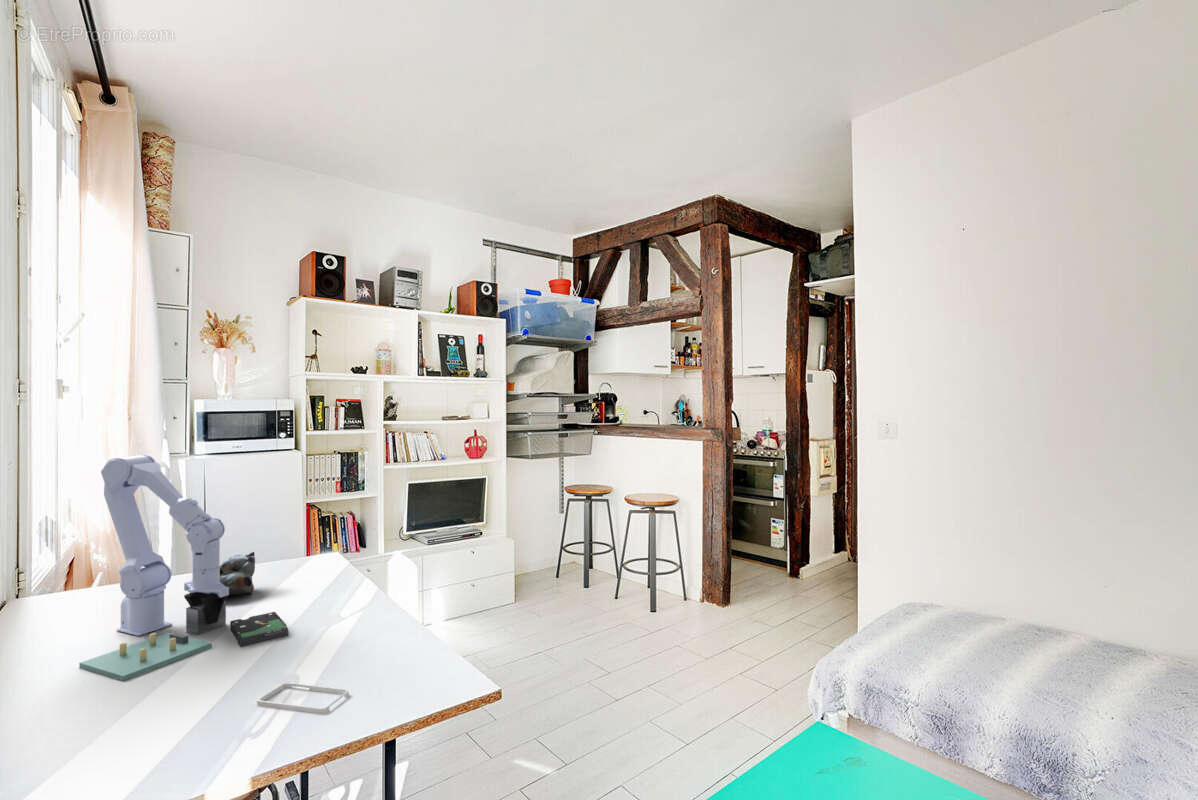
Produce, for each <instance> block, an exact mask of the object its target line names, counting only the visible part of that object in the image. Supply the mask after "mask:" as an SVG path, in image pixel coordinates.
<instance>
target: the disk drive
mask: <svg viewBox="0 0 1198 800" xmlns="http://www.w3.org/2000/svg"><path fill="white" fill-rule="evenodd" d="M229 625H230V626H229V630H230V632H231V633H232V635H233V638H235V640H236V642H237V644H238V646H239V647H240V648H243V647H247V646H251V645H252V646H253V645H256V644H260V643H261V644H262V643H265V642H269V641H273V640H278V639H282V638H286V637H289V628H288V627H287V626H288V625H287V624H286V623H285V622H284V620H283V619H282V618H281V617H280V616H279V615H278V613H277V612H276V611H272V612H271V611H270V612H267V613H262V614H258V615H252V616H249V617H248V618H245V619H241V618H238V619H234V620H230V622H229Z"/></svg>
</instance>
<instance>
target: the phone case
mask: <svg viewBox="0 0 1198 800" xmlns="http://www.w3.org/2000/svg"><path fill="white" fill-rule="evenodd" d="M293 687H297V688H298V687H299V688H305V689H306V688H309V691H313V692H321V693H329V694H330V693H331V694H336V695H337V694H339V695H340V696H338V697H337V698H336V699H334V700H333V701H331V703H329V704H328V705H327V706H325V707H318V706H307V705H302V704H301V705H300V704H293V703H285V702H276V701H270V700H269V701H268V700H267V699H269V698H270V697H272V696H274V695H276V693H278V692H280V691H281V690H283V689H287V688H288V689H292V688H293ZM349 692H350V691H349V690H348V689H343V688H337V687H336V688H335V687H326V686H318V685H317V686H316V685H309V684H302V683H301V684H300V683H292V682H284V683H282V684H279V686H277V687H275V688H273V689H272V690H271V691H269V692H267V693H265V694H264V695H263V696H260V698H258V699H257V700H256V705H257V706H260V707H265V708H266V707H268V708H275V709H283V710H290V711H298V712H307V713H314V714H326V713H327V712H329V711H330V707H332V706H333V705H334V704H336V703H337V702H338V701H340V700H341V699H342V698H348V697H349V695H350V693H349Z"/></svg>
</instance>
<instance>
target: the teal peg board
mask: <svg viewBox="0 0 1198 800" xmlns="http://www.w3.org/2000/svg"><path fill="white" fill-rule="evenodd" d="M127 644H128V643H127V642H122V643H119V649H117V650H114V651H110V652H107V653H105V654H102V655H99V656H96V657H93V658H90V659H87V660H84V661H82V662H79V664H78V665H79V668H80V669H83V670H85V671H86V670H87V671H88V672H89V671H90V672H93V673H96V674H99V675H103V676H104V677H105V676H106V677H109V678H112V679H115V680H119V681H122V682H124V681H127V680H129V679H133V678H135V677H137V676H141V675H143V674H146V673H147V672H150V671H153V670H156V669H158V668H161V667H163V666H166V665H168V664H171V663H174V662H176V661H178V660H182V659H185V658H187V657H189V656H192V655H194V654H197V653H200V652H202V651H205V650H208V649H210V648H212V647H213V643H212V642H210V641H205V640H201V639H197V638H194V637H189V635H186V634H182V633H178V632H173V633H172V632H167V633H163V634H161V635H158V636H157V633H156V632H151V633H150V634H149V639H146V640H143V641H141V642H136V643H135V644H131V645H129V646H127Z"/></svg>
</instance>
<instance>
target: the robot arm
mask: <svg viewBox="0 0 1198 800" xmlns="http://www.w3.org/2000/svg"><path fill="white" fill-rule="evenodd" d="M100 473H101V476H102V479H103V483H104V485H103V495H104V499H105V502H106V505H107V509H108V511H109V514H110V518H111V520H112V523H113V526H114V528H115V532H116V535H117V538H118V540H119V543H120V546H121V550H122V553H123V556H124V559H125V561H124V563H123V565H122V567H120V569H119V575H120V581H119V582H120V583H119V586H120V587H119V588H120V590H121V593H123V594H124V595H125V596H124V597H123V599H122V600H121V603H120V626H119V627H117V628H116V631H117V632H121V633H125V634H128V635H129V634H130V635H133V636H136V637H137V636H138V637H139V636H142V635H146V634H148V633H153V632H155V631H157V630H161V629H164V628H168V627H169V626H172V625H173V622H171V621H166V620H165V590H167V584H168V583H170V581H171V579H172V569H171V568H170V566H169V565H168V564H167V563H166V562H165V561H164V558H163V556H162V555H160V554H158V553H156V552H154V551H153V549H152V545H151V542H150V540H149V536H148V533H147V531H146V528H145V525H144V522H143V519H142V516H141V513H140V511H139V507H138V503H137V500H136V498H135V495H134V494H135V493H136V491H137V490H138V489H139V487H141V486H144V487H147V489H148V490H150V491H151V492H152V493H153V494H155V496H157V497H158V498H159V499H160V500H162V501H163V502H164V503H165V504H166V505H167V506H168V507H169V510H168V514H169V516H171V517H172V519H173V520H175V522H177V523H178V525H179V526H180V527H182V528H183V529H184V530H185V532H186V534H185V536H186V540H187V542H188V543H189V545H190V551H192V553H191V554H192V580H191V581H186V582H184V585H183V587H184V588H183V590H184V591H185V592H187V593H185V594H184V599H185V601H186V602H187V603H188V605H189V607H191V606H194V605H198V604H201V603H203V604H204V606H205V610H206V617H207V622H208V624H213V623H216V622H218V618H219V615H220V611H221V608H222V606H223V604H224V602H225V601H226V600H227V598H228V596H230V595H229V587H225V586H224V585H223V584H221V583H220V565H221V564H220V562H221V560H220V559H221V558H220V557H221V556H220V553H221V552H220V551H221V550H220V546H221V545H220V543H221V542H220V539H221V538H222V537H223V536H224V534H225V531H226V529H225V528H226V527H225V524H224V523H223V521H222V520H221V519H220V518H217V517H212V516H211V515H210V514H209V513H207V512H206V511H205V510H203V508H202V507H201V506H200V505H199V502H198V501H197V500H196V499H192V498H191V497H183V495H182V494H181V493H180V492H179V491H178V490H177V488H176V487H175V486H174V484H173V483H171V482H170V480H169V479H168V477H166V475H165V474H164V473H163V472H162V469H161V464H160V463H158V462H157V461H156V460H155V458H153V457H152V456H151V455H149V454H140V455H133V456H123V457H119V456H118V457H117V456H116V457H113V458H110V459H109V460H108V461H107V462H106V463H105V465H104V466H103V468H102V469H101V471H100ZM209 595H210V596H209Z"/></svg>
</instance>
